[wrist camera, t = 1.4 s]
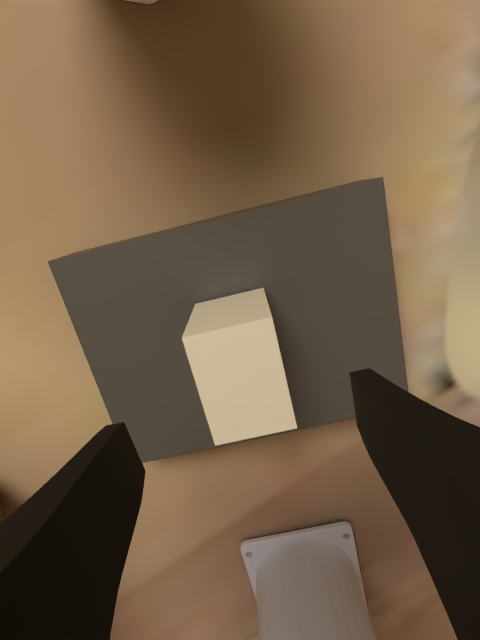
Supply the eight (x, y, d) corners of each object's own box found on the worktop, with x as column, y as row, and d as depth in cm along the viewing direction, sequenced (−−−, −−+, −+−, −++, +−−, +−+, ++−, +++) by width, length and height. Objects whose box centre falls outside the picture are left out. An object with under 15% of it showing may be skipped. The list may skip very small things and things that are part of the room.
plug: (277, 351, 23) (297, 428, 15) (222, 363, 23) (215, 445, 15) (259, 274, 21) (272, 316, 14) (201, 288, 21) (181, 337, 14)
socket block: (388, 380, 23) (409, 406, 20) (142, 434, 24) (129, 465, 22) (361, 180, 20) (382, 177, 17) (73, 252, 21) (47, 261, 18)
